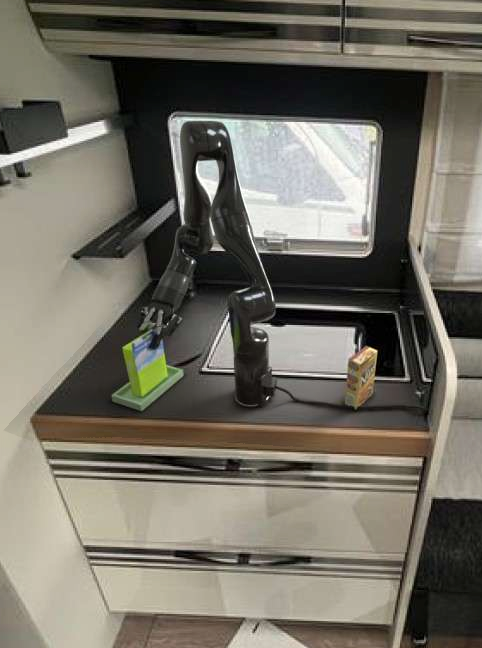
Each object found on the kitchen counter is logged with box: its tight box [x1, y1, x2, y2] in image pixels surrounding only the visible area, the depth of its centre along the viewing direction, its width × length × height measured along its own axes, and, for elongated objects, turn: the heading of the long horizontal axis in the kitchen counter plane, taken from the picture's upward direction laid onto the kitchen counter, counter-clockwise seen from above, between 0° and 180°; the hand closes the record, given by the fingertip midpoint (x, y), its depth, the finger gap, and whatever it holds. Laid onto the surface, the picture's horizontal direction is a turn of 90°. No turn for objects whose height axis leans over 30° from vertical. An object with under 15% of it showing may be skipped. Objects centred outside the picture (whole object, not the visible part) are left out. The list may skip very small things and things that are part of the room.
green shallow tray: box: [111, 364, 185, 412], centre depth 112 cm, size 10×17×2 cm, turn 161°
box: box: [121, 327, 168, 397], centre depth 108 cm, size 10×4×17 cm, turn 161°
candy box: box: [344, 345, 378, 410], centre depth 111 cm, size 9×4×15 cm, turn 144°
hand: (145, 346), depth 107 cm, fingers closed on box, 4 cm apart
